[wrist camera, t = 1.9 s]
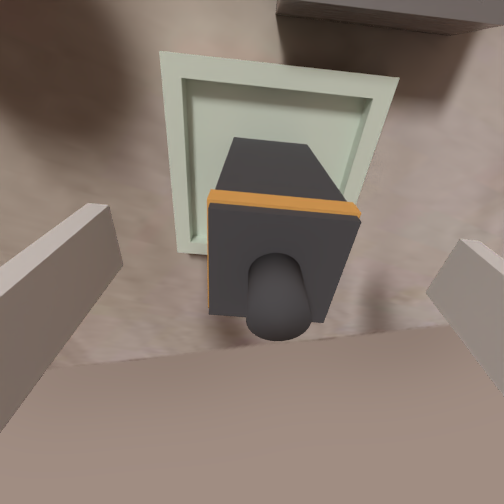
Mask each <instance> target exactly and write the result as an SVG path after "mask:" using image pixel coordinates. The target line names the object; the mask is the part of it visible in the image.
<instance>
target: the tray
mask: <svg viewBox="0 0 504 504" xmlns="http://www.w3.org/2000/svg"><path fill="white" fill-rule="evenodd" d="M159 55H160V66H161V77H162V88H163V99H164V109H165V120H166V131H167V142H168V153H169V164H170V175H171V186H172V197H173V208H174V219H175V230H176V241H177V252H179V253H191V254H203V255H207V197H208V195H209V192H210V190H211V189H215V188H216V185H217V182H218V179H219V177H220V174H221V171H222V168H223V166H224V163H225V160H226V157H227V155H228V152H229V149H230V146H231V144H232V141H233V138H234V137H239V138H249V139H259V140H269V141H279V142H289V143H299V144H307V145H308V146H309V148H310V149H311V150H312V152H313V153H314V155H315V156H316V158H317V159H318V161H319V162H320V163H321V165H322V166H323V168H324V169H325V171H326V172H327V173H328V175H329V176H330V178H331V179H332V181H333V182H334V184H335V185H336V186H337V188H338V189H339V191H340V192H341V194H342V195H343V196H344V198H345V199H346V201H347V202H353V203H354V204H355V205H356V203H357V200H358V197H359V194H360V191H361V188H362V185H363V183H364V180H365V177H366V174H367V171H368V168H369V165H370V162H371V159H372V157H373V154H374V151H375V148H376V145H377V142H378V139H379V136H380V133H381V131H382V128H383V125H384V122H385V119H386V116H387V113H388V110H389V107H390V105H391V102H392V99H393V96H394V93H395V90H396V87H397V84H398V81H399V79H400V78H398V77H389V76H380V75H371V74H362V73H353V72H344V71H335V70H326V69H317V68H308V67H299V66H290V65H281V64H273V63H264V62H255V61H246V60H237V59H228V58H219V57H210V56H201V55H192V54H183V53H174V52H165V51H159Z"/></svg>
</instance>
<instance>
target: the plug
mask: <svg viewBox="0 0 504 504" xmlns="http://www.w3.org/2000/svg"><path fill="white" fill-rule="evenodd" d="M360 215H361V212H360V211H359V209H358V208H357V207H356V205H355V204H354V203H353V202H347V201H346V199H345V198H344V196H343V195H342V194H341V192H340V191H339V189H338V188H337V186H336V185H335V184H334V182H333V181H332V179H331V178H330V176H329V175H328V173H327V172H326V171H325V169H324V168H323V166H322V165H321V163H320V162H319V161H318V159H317V158H316V156H315V155H314V153H313V152H312V150H311V149H310V148H309V146H308V145H307V144H299V143H289V142H279V141H269V140H259V139H249V138H239V137H234V138H233V141H232V144H231V146H230V149H229V152H228V155H227V157H226V160H225V163H224V166H223V168H222V171H221V174H220V177H219V179H218V182H217V185H216V188H215V189H211V190H210V192H209V195H208V197H207V267H208V308H209V314H210V315H224V316H237V317H246V322H247V326H248V328H249V329H250V331H251V332H252V333H253V334H255V335H256V336H258V337H260V338H262V339H266V340H270V341H285V340H290V339H293V338H296V337H298V336H300V335H301V334H303V333H304V332H305V331H306V330H307V329H308V328H309V326H310V324H311V322H318V323H324V320H325V317H326V315H327V312H328V309H329V307H330V304H331V301H332V299H333V296H334V293H335V291H336V288H337V285H338V283H339V280H340V277H341V275H342V272H343V269H344V267H345V264H346V261H347V259H348V256H349V253H350V251H351V248H352V245H353V243H354V240H355V237H356V235H357V232H358V229H359V227H360V224H361V221H360V219H359V218H360Z"/></svg>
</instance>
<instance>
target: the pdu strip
mask: <svg viewBox="0 0 504 504" xmlns="http://www.w3.org/2000/svg"><path fill="white" fill-rule="evenodd" d="M276 15H282V16H291V17H299V18H308V19H316V20H324V21H333V22H341V23H350V24H358V25H366V26H375V27H383V28H391V29H400V30H408V31H417V32H425V33H433V34H442V35H450V36H451V35H456V34H461V33H466V32H472V31H477V30H482V29H487V28H492V27H498V26H503V25H504V0H277V6H276Z"/></svg>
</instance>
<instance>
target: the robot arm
mask: <svg viewBox="0 0 504 504" xmlns="http://www.w3.org/2000/svg"><path fill="white" fill-rule="evenodd" d="M122 266H123V261H122V257H121V253H120V249H119V245H118V240H117V236H116V232H115V228H114V224H113V220H112V216H111V211H110V207H109V205H103V204H93V203H87V204H86V205H84V206H83V207H82V208H80V209H79V210H77V211H76V212H75V213H73V214H72V215H71V216H69V217H68V218H67V219H65V220H64V221H62V222H61V223H60V224H58V225H57V226H56V227H54V228H53V229H52V230H50V231H49V232H47V233H46V234H45V235H43V236H42V237H41V238H39V239H38V240H36V241H35V242H34V243H32V244H31V245H30V246H28V247H27V248H26V249H24V250H23V251H21V252H20V253H19V254H17V255H16V256H15V257H13V258H12V259H11V260H9V261H8V262H6V263H5V264H4V265H2V266H1V267H0V433H1V431H2V430H3V428H4V427H5V426H6V424H7V423H8V422H9V420H10V419H11V417H12V416H13V415H14V413H15V412H16V410H17V409H18V408H19V407H20V405H21V404H22V402H23V401H24V400H25V398H26V397H27V396H28V394H29V393H30V392H31V390H32V389H33V387H34V386H35V385H36V383H37V382H38V381H39V379H40V378H41V377H42V375H43V374H44V372H45V371H46V370H47V368H48V367H49V366H50V364H51V363H52V362H53V360H54V359H55V357H56V356H57V355H58V353H59V352H60V351H61V349H62V348H63V347H64V345H65V344H66V342H67V341H68V340H69V338H70V337H71V336H72V334H73V333H74V332H75V330H76V329H77V327H78V326H79V325H80V323H81V322H82V321H83V319H84V318H85V317H86V315H87V314H88V312H89V311H90V310H91V308H92V307H93V306H94V304H95V303H96V302H97V300H98V299H99V297H100V296H101V295H102V293H103V292H104V291H105V289H106V288H107V287H108V285H109V284H110V282H111V281H112V280H113V278H114V277H115V276H116V274H117V273H118V272H119V270H120V269H121V267H122ZM426 294H427V295H428V296H429V298H430V299H431V300H432V302H433V303H434V304H435V306H436V307H437V308H438V310H439V311H440V312H441V314H442V315H443V316H444V318H445V319H446V320H447V322H448V323H449V324H450V326H451V327H452V328H453V330H454V331H455V332H456V334H457V335H458V336H459V338H460V339H461V340H462V342H463V343H464V344H465V346H466V347H467V348H468V350H469V351H470V352H471V354H472V355H473V356H474V358H475V359H476V360H477V362H478V363H479V364H480V366H481V367H482V368H483V370H484V371H485V372H486V373H487V375H488V376H489V378H490V379H491V380H492V381H493V383H494V384H495V386H496V387H497V388H498V390H499V391H500V392H501V393H502V395H503V396H504V259H503V258H501V257H500V256H499V255H497V254H496V253H495V252H494V251H492V250H491V249H490V248H488V247H487V246H486V245H484V244H483V243H482V242H480V241H476V240H466V239H459V241H458V242H457V244H456V246H455V247H454V249H453V250H452V252H451V253H450V255H449V256H448V258H447V260H446V261H445V263H444V264H443V266H442V267H441V269H440V270H439V272H438V274H437V275H436V277H435V278H434V280H433V281H432V283H431V284H430V286H429V288H428V289H427V291H426Z"/></svg>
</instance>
